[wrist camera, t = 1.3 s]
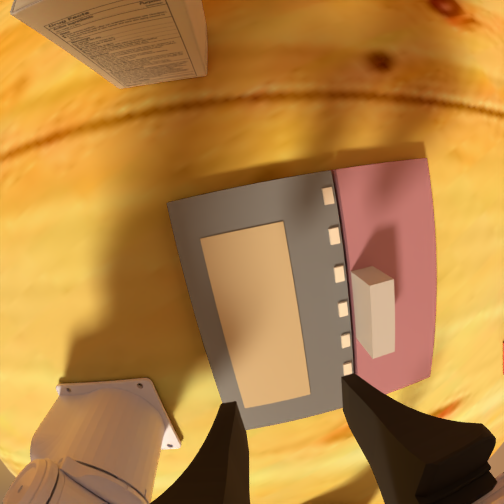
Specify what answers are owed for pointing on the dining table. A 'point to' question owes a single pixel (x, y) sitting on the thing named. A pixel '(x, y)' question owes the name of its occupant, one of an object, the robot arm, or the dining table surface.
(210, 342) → the ticket
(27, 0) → the skincare box
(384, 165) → the pink board with handle
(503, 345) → the cracker box
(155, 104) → the dining table surface
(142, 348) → the dining table surface
